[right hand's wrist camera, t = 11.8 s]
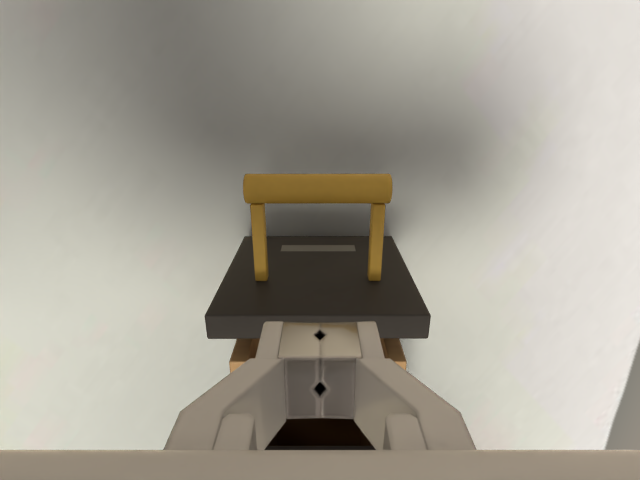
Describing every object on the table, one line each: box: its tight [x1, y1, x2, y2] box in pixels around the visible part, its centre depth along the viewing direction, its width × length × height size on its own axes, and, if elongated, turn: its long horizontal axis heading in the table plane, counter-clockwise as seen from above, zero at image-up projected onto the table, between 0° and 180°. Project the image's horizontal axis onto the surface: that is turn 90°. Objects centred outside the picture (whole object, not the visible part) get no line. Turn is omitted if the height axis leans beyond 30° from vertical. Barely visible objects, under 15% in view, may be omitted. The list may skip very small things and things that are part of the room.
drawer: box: [205, 174, 431, 446], centre depth 23 cm, size 25×10×10 cm, turn 0°
